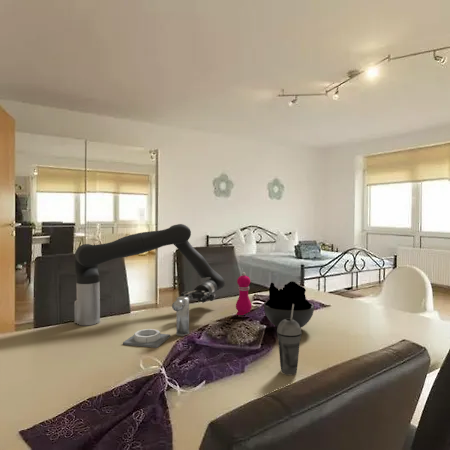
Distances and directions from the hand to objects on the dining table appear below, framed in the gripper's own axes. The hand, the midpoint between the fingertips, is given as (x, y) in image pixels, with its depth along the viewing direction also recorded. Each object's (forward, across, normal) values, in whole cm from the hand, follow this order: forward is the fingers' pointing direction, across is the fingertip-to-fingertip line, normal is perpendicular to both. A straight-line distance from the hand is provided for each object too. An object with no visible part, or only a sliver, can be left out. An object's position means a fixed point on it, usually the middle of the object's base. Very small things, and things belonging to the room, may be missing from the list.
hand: (192, 299), depth 151 cm
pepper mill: (-18, +18, +11) cm, 28 cm away
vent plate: (+21, -10, +10) cm, 26 cm away
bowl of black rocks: (-4, +39, +11) cm, 41 cm away
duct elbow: (+13, 0, +11) cm, 17 cm away
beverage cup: (+36, +42, +11) cm, 56 cm away
